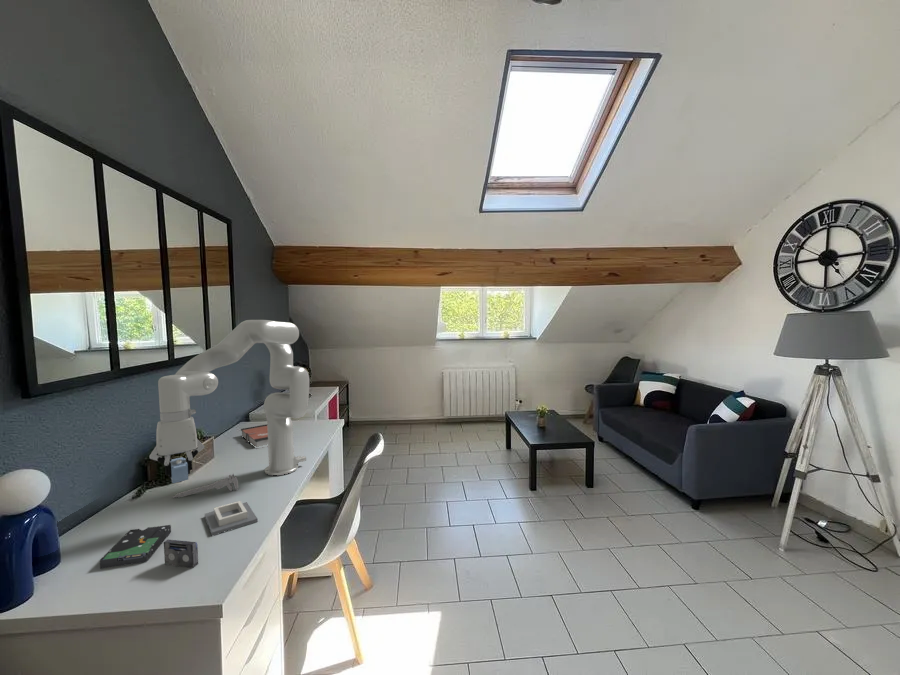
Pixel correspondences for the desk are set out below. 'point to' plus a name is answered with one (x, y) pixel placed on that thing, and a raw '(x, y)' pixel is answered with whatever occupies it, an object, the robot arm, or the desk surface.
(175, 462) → the servo block
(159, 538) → the disk drive
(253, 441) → the book
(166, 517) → the desk surface
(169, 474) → the robot arm
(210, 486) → the caliper
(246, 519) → the plate
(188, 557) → the mini dv tape
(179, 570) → the desk surface
